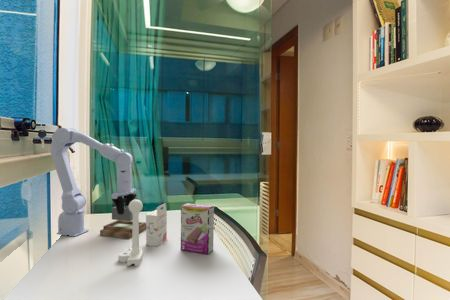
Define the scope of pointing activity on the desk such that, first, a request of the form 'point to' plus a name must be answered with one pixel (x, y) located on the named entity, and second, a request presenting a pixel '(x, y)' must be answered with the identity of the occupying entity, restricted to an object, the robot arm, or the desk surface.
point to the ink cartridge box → (156, 226)
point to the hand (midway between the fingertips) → (124, 212)
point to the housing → (125, 216)
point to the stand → (121, 229)
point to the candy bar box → (197, 228)
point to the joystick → (133, 238)
